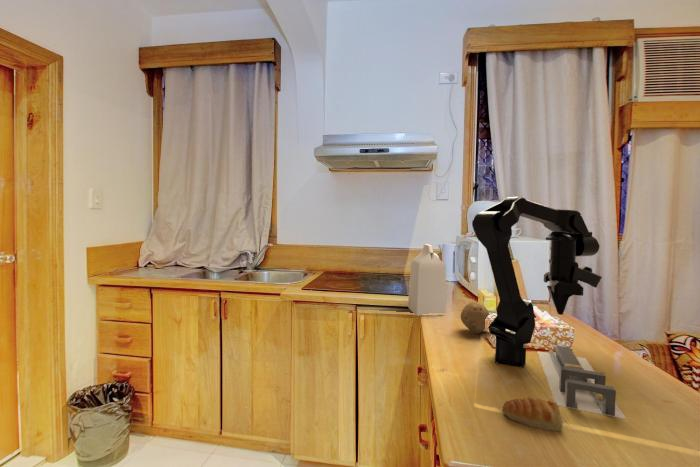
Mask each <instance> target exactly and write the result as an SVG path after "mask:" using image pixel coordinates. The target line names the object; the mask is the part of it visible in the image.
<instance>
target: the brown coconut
mask: <svg viewBox="0 0 700 467" xmlns="http://www.w3.org/2000/svg"><path fill="white" fill-rule="evenodd" d="M488 315H490V316H491V314H490V311H489V310H488V309H487V307H486V306H485V305H484V304H482V303H481V302H479V301H471V302H470V301H469V302H468V303H467V304H465V305H464V306H463V309H462V310H461V312H460V319H461V322H462V323H463V325H464V326H465V327H466V328H467V329H468V330H469V331H470V332H471V333H473V334H475V333H478V334H480V333H482V332H483V331H485V330H486V329H485V319H486V317H487V316H488Z"/></svg>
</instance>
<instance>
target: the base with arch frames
mask: <svg viewBox="0 0 700 467" xmlns="http://www.w3.org/2000/svg"><path fill="white" fill-rule="evenodd" d="M536 352H537V354H538V358H539V361H540V364H541V365H542V369H543V372H544V374H545V378H546V380H547V384H548V386H549V388H550V392H551V395H552V397H553V401H554V402H556V403H557V405H558V407H562V408H563V407H564V408H568V409H573V410H577V411H582V412H588V413H593V414H596V415H597V414H599V415H603V416H609V417H613V418H620V419H623V420H627V417H626V416H625V415H624V412H622V410H621V408H620V407H619V405H618V404H617V402H616V398H617V390H616V389H615V387H614V386H611V385H607V384H606V375H605V373H604V372H599V371H595V370H594V368H593V367H592V366H591V364H590V363H589V361H588V360H587V358H585V357H580V356H576V354H575V353H574V355H575V357H576V358H577V360H578V362H579V363H580V365H581V366H582V368H583V370H581V369H574V368H568V367H561V366H560V365H559V363H558V360H557V358H556V353H555V352H554V350H553V349H548V352H543V351H536ZM569 375H571V376H577V377H583V378H587V382H582V381H576V380H570V379H569Z"/></svg>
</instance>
